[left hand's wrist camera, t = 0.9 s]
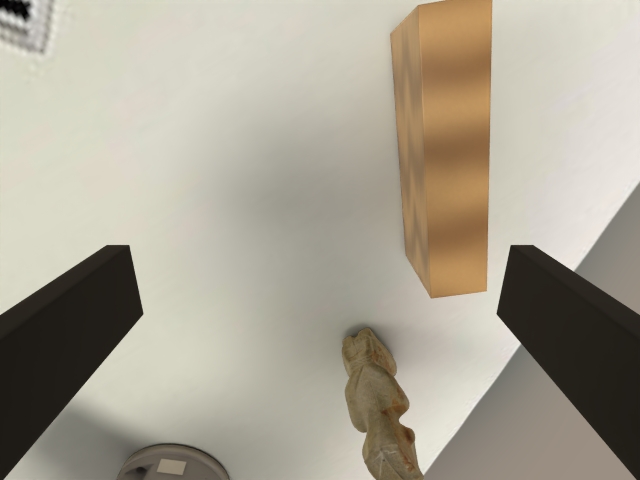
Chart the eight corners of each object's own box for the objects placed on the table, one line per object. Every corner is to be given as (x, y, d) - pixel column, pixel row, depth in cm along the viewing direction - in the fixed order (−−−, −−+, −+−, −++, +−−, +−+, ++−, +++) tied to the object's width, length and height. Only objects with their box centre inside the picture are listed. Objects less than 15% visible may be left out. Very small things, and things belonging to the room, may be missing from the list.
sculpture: (357, 378, 43) (376, 508, 29) (330, 335, 41) (336, 453, 27) (401, 360, 42) (442, 485, 28) (375, 314, 40) (406, 426, 26)
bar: (449, 249, 38) (487, 291, 29) (405, 255, 38) (430, 298, 29) (444, 24, 30) (493, -9, 22) (390, 33, 30) (417, 4, 22)
